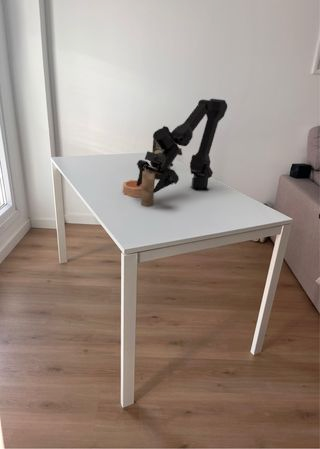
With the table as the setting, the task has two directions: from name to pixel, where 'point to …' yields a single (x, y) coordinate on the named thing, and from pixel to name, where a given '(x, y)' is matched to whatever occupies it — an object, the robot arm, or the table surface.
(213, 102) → the robot arm
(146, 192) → the walnut peg
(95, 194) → the table surface
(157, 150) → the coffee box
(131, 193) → the terracotta dish
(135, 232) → the table surface
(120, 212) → the table surface
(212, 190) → the table surface
